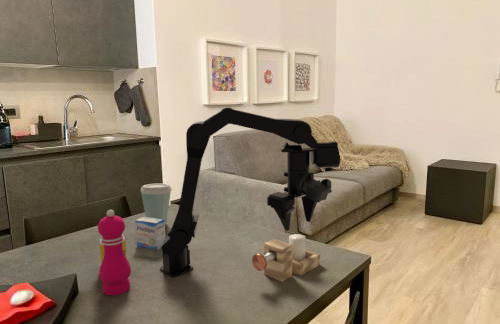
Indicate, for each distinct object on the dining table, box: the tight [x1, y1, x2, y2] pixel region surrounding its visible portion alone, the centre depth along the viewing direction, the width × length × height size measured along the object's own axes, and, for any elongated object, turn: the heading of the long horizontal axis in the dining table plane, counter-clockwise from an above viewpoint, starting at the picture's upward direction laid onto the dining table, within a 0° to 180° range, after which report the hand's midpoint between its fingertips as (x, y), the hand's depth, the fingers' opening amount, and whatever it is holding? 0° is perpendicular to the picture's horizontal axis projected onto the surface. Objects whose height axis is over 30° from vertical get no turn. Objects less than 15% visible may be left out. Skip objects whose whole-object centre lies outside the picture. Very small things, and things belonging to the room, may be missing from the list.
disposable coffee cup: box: [140, 183, 172, 226], centre depth 137 cm, size 11×11×15 cm
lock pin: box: [251, 251, 277, 272], centre depth 96 cm, size 8×4×4 cm, turn 136°
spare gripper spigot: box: [288, 233, 307, 262], centre depth 105 cm, size 4×4×8 cm
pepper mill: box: [97, 209, 132, 296], centre depth 92 cm, size 7×7×20 cm
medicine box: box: [134, 216, 166, 251], centre depth 119 cm, size 8×4×9 cm, turn 68°
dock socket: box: [263, 238, 321, 283], centre depth 103 cm, size 14×9×8 cm, turn 136°
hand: (298, 225), depth 103 cm, fingers open, 9 cm apart
